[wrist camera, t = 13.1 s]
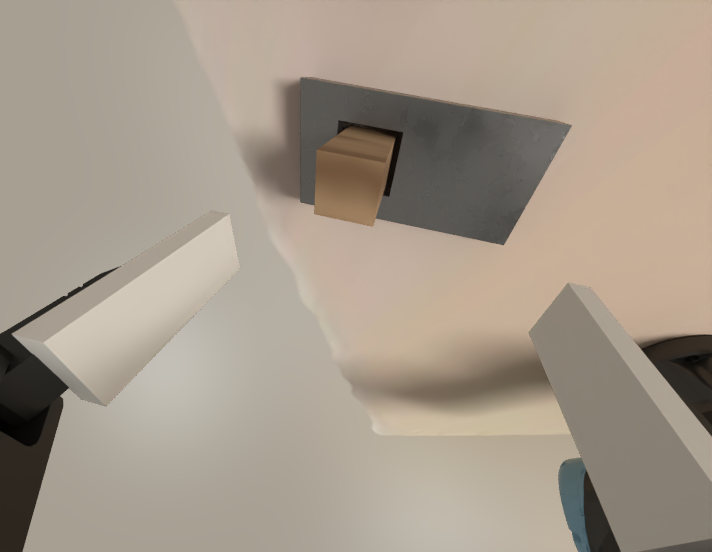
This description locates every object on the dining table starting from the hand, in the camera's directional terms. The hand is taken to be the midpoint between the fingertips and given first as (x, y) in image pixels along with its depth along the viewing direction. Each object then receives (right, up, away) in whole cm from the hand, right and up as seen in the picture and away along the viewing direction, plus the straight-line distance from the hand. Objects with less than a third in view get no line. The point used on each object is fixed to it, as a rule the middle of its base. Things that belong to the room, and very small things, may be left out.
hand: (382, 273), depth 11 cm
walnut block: (0, +14, +19) cm, 23 cm away
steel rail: (+5, +12, +18) cm, 23 cm away
